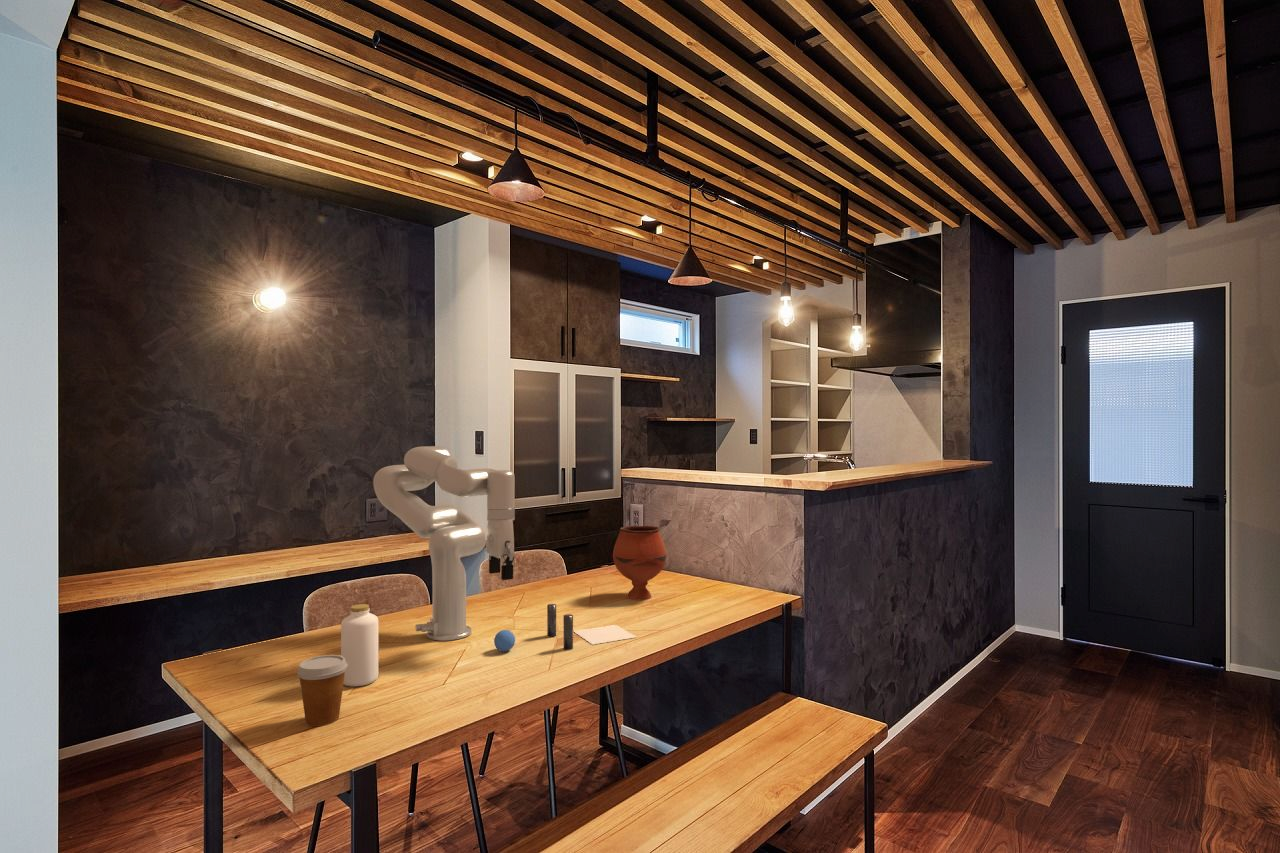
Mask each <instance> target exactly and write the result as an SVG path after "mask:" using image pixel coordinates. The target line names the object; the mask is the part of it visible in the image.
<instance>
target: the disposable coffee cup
mask: <svg viewBox="0 0 1280 853" xmlns="http://www.w3.org/2000/svg"><path fill="white" fill-rule="evenodd" d="M347 666H348V664H347V663H346V661H345V658H344V657H343V656H341V655H338V654H327V655H317V656H314V657H310V658H307V659H305V660H303V661H301V662H300V663H299V666H298V668H297V670H296V675H297V676H298V678H299V682H300V690H301V691H300V692H301V698H302V704H303V711H304V712H303V713H304V720H305V725H308V726H312V727H318V726H319V727H321V726H326V725H329V724H332V723H334V722H336V721H337V720H338V719H339V718H340V712H341V704H342V698H343V697H342V696H343V688H344V684H343V683H344V675H345V670H346V668H347Z"/></svg>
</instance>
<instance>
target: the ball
mask: <svg viewBox="0 0 1280 853" xmlns="http://www.w3.org/2000/svg"><path fill="white" fill-rule="evenodd" d="M493 640H494V646H495V648H496V649H497V650H498V651H500V652H508V651H511V650H512V648H513V647H514V646H515V643H516V637H515V635H514V633H513V631H511V630H508V629H502V630H499V632H497V633H496V635H495V636H494V639H493Z"/></svg>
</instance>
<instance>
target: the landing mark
mask: <svg viewBox="0 0 1280 853" xmlns="http://www.w3.org/2000/svg"><path fill="white" fill-rule="evenodd" d="M574 632H575V633H574ZM573 633H574V634H576V635H577V634H578V635H579V636H578V635H577V636H578V637H580V638H581V637H582V639H583V640H584V639H585V640H584V641H586V642H587V641H588V642H587V643H589V645H592V646H595V644H596V645H601V644H600V643H602V644H608V643H614V642H619V641H618V640H620V641H624V640H623V639H626V640H631V639H630V638H632V639H636V638H638V637H637V636H636V635H634V634H632V633H630V632H629V631H627V630H626V629H625V628H622V627H620V626H618V625H617V624H611V625H605V627H604V626H597V627H592V628H591V629H590V628H584V629H578V630H573ZM613 641H614V642H613ZM607 642H608V643H607Z"/></svg>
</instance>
